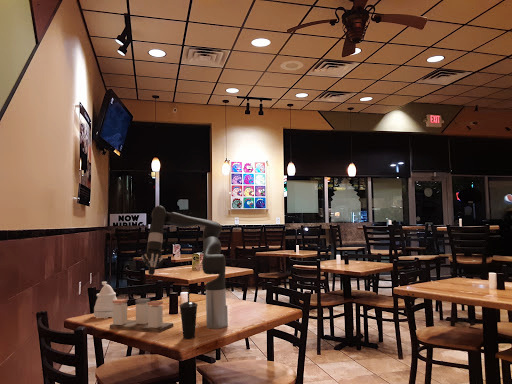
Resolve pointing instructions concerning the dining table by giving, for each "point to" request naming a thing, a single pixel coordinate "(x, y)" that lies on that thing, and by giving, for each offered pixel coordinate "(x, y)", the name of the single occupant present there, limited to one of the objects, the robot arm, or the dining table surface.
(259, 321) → the dining table surface
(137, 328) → the wooden serving board
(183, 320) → the drinking cup
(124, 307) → the white spice jar
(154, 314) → the white lidded canister
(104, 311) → the honey pot
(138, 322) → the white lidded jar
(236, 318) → the dining table surface
